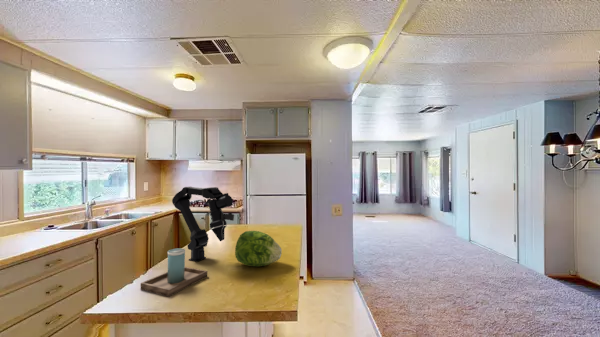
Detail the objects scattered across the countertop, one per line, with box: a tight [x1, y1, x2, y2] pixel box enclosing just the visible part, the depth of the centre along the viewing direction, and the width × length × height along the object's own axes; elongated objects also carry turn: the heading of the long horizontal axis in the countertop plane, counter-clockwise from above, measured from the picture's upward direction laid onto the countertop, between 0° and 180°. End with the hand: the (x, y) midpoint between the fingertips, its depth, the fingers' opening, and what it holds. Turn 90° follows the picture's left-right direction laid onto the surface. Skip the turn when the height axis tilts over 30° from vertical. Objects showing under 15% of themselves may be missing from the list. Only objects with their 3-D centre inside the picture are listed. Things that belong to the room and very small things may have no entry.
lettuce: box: [234, 230, 282, 267], centre depth 128 cm, size 17×23×17 cm
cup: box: [167, 247, 186, 283], centre depth 108 cm, size 7×7×12 cm
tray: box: [140, 266, 208, 298], centre depth 108 cm, size 16×20×2 cm
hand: (222, 240), depth 129 cm, fingers open, 9 cm apart
